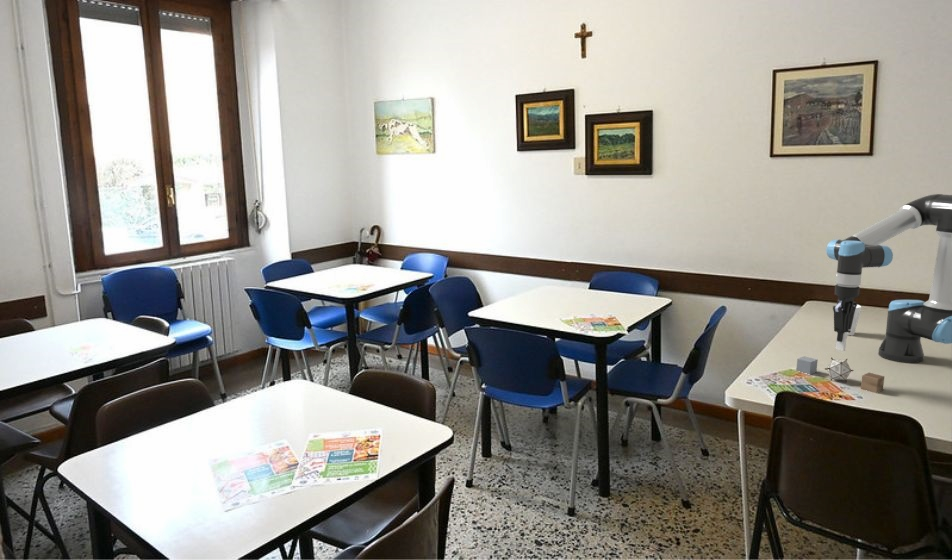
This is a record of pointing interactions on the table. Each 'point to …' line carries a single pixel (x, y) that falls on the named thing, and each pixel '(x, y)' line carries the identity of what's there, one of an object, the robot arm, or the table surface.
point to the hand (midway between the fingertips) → (840, 349)
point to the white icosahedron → (838, 369)
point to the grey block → (807, 365)
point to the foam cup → (855, 320)
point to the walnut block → (872, 382)
